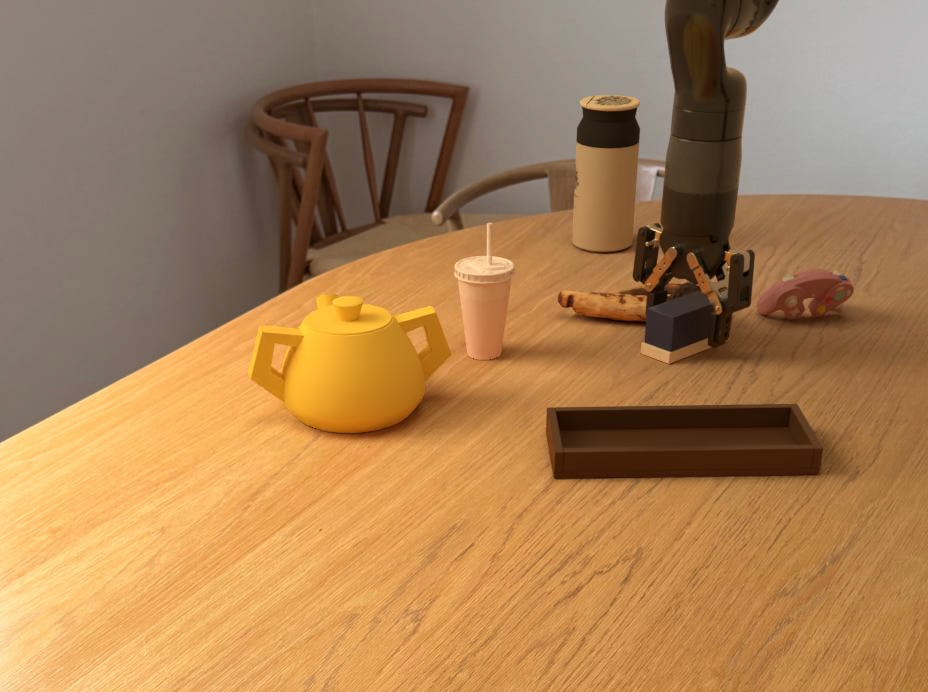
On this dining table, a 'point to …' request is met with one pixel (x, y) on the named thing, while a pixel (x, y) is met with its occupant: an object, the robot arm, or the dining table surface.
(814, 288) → the video game controller
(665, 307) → the navy block
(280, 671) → the dining table surface
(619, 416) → the shallow brown tray
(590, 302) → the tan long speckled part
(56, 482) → the dining table surface
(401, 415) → the teapot
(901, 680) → the dining table surface
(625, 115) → the travel mug
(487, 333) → the smoothie
